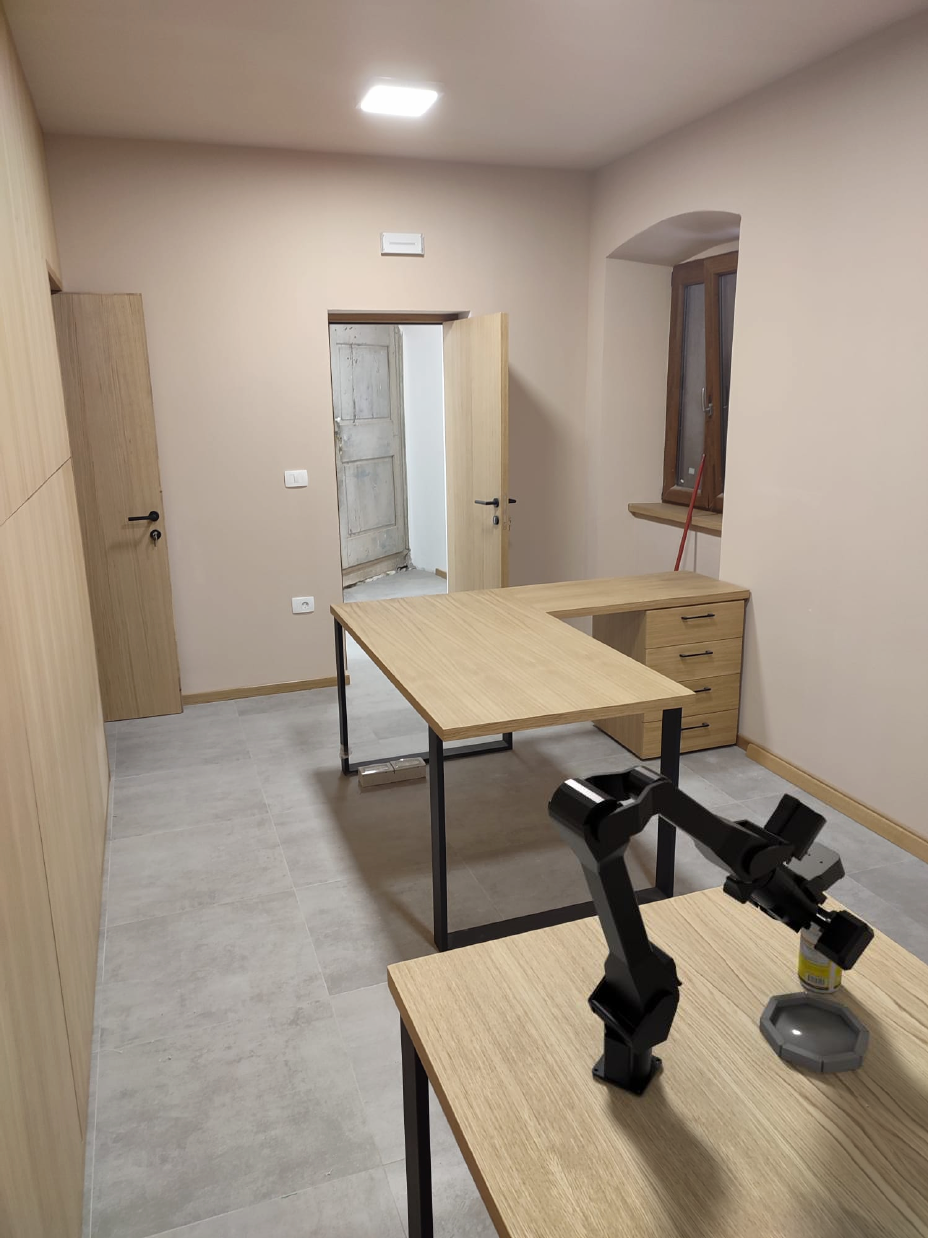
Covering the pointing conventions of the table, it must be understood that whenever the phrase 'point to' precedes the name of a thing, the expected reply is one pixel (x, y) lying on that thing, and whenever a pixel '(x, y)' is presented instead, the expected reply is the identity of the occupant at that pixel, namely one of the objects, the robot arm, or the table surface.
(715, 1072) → the table surface
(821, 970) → the supplement bottle
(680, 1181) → the table surface
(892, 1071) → the table surface
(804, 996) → the dish
